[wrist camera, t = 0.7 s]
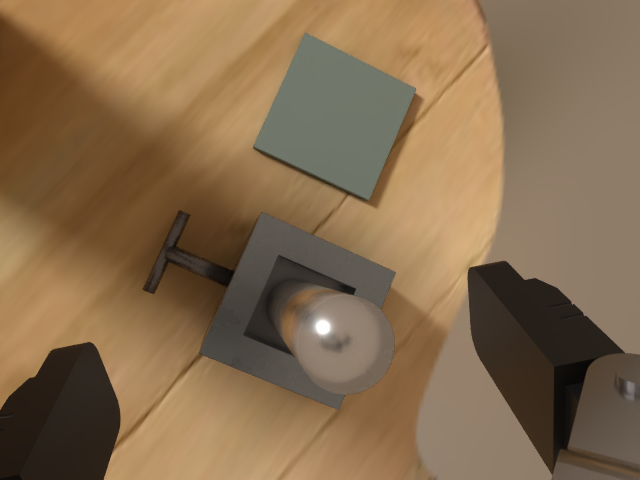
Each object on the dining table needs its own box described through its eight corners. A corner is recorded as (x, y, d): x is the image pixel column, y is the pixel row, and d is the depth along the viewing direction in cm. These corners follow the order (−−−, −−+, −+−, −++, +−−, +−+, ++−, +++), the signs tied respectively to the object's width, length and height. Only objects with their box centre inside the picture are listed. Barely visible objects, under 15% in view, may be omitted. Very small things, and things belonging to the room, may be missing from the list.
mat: (253, 148, 35) (253, 146, 34) (303, 36, 36) (305, 32, 35) (366, 201, 36) (369, 200, 35) (413, 91, 37) (416, 88, 36)
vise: (135, 310, 33) (118, 320, 28) (191, 190, 34) (184, 177, 29) (321, 386, 35) (338, 410, 30) (370, 270, 36) (396, 272, 30)
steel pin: (258, 322, 31) (282, 372, 18) (280, 270, 32) (322, 280, 18) (309, 344, 32) (371, 409, 18) (330, 292, 32) (409, 318, 18)
